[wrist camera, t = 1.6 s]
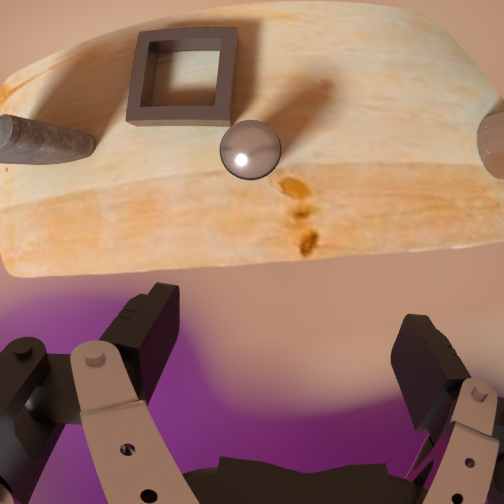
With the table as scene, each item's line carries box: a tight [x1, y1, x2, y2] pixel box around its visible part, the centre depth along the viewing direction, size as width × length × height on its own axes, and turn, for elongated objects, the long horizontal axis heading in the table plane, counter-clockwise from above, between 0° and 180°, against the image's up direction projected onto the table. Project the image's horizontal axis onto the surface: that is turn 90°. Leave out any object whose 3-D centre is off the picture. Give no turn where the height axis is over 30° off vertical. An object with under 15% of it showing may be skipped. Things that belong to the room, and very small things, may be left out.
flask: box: [0, 114, 96, 165], centre depth 26 cm, size 4×14×18 cm, turn 86°
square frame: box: [126, 27, 239, 127], centre depth 31 cm, size 11×11×4 cm
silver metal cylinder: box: [220, 120, 281, 181], centre depth 30 cm, size 5×5×10 cm
